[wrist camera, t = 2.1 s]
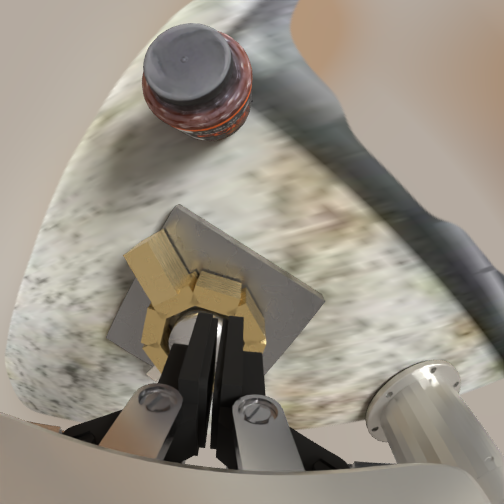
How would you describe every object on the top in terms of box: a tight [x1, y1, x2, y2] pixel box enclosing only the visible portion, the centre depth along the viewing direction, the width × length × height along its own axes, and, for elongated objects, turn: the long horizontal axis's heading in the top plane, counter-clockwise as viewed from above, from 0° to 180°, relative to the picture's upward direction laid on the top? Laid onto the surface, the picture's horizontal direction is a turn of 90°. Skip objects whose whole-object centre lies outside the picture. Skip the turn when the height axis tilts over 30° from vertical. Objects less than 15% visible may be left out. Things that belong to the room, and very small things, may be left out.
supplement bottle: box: [142, 23, 253, 141], centre depth 17 cm, size 6×6×11 cm
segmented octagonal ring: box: [123, 229, 266, 388], centre depth 23 cm, size 13×9×4 cm
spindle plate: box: [106, 204, 325, 398], centre depth 25 cm, size 14×16×5 cm
